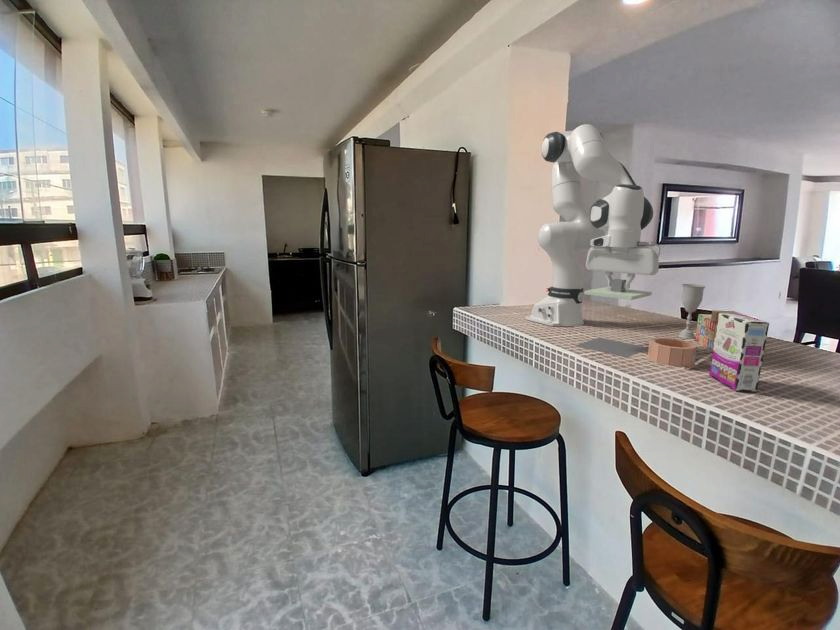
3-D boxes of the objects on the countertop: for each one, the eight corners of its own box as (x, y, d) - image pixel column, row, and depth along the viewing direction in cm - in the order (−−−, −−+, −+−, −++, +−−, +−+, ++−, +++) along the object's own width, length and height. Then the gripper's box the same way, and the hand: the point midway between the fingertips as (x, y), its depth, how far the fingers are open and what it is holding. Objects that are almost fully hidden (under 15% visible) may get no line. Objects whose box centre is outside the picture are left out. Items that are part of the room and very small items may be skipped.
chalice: (699, 340, 142) (706, 287, 138) (675, 337, 145) (682, 285, 142) (697, 335, 148) (705, 284, 145) (675, 333, 151) (681, 283, 148)
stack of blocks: (694, 340, 142) (699, 304, 140) (715, 342, 141) (720, 305, 138) (725, 359, 122) (732, 317, 119) (750, 361, 120) (757, 318, 118)
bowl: (641, 361, 119) (643, 342, 118) (656, 354, 126) (659, 336, 125) (685, 371, 111) (688, 351, 110) (699, 362, 118) (701, 343, 117)
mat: (574, 347, 132) (574, 345, 132) (599, 339, 143) (599, 337, 142) (626, 359, 120) (626, 357, 120) (649, 349, 131) (649, 347, 131)
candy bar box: (758, 392, 96) (771, 322, 93) (735, 391, 97) (746, 321, 94) (728, 376, 107) (739, 312, 104) (707, 375, 108) (717, 312, 104)
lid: (584, 294, 129) (585, 279, 128) (605, 290, 138) (607, 276, 137) (631, 300, 118) (633, 284, 117) (651, 295, 127) (653, 280, 126)
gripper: (665, 242, 119) (659, 290, 122) (595, 240, 134) (591, 283, 137) (656, 242, 115) (650, 292, 118) (585, 240, 130) (581, 285, 133)
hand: (618, 287), depth 128 cm, fingers closed on lid, 3 cm apart
